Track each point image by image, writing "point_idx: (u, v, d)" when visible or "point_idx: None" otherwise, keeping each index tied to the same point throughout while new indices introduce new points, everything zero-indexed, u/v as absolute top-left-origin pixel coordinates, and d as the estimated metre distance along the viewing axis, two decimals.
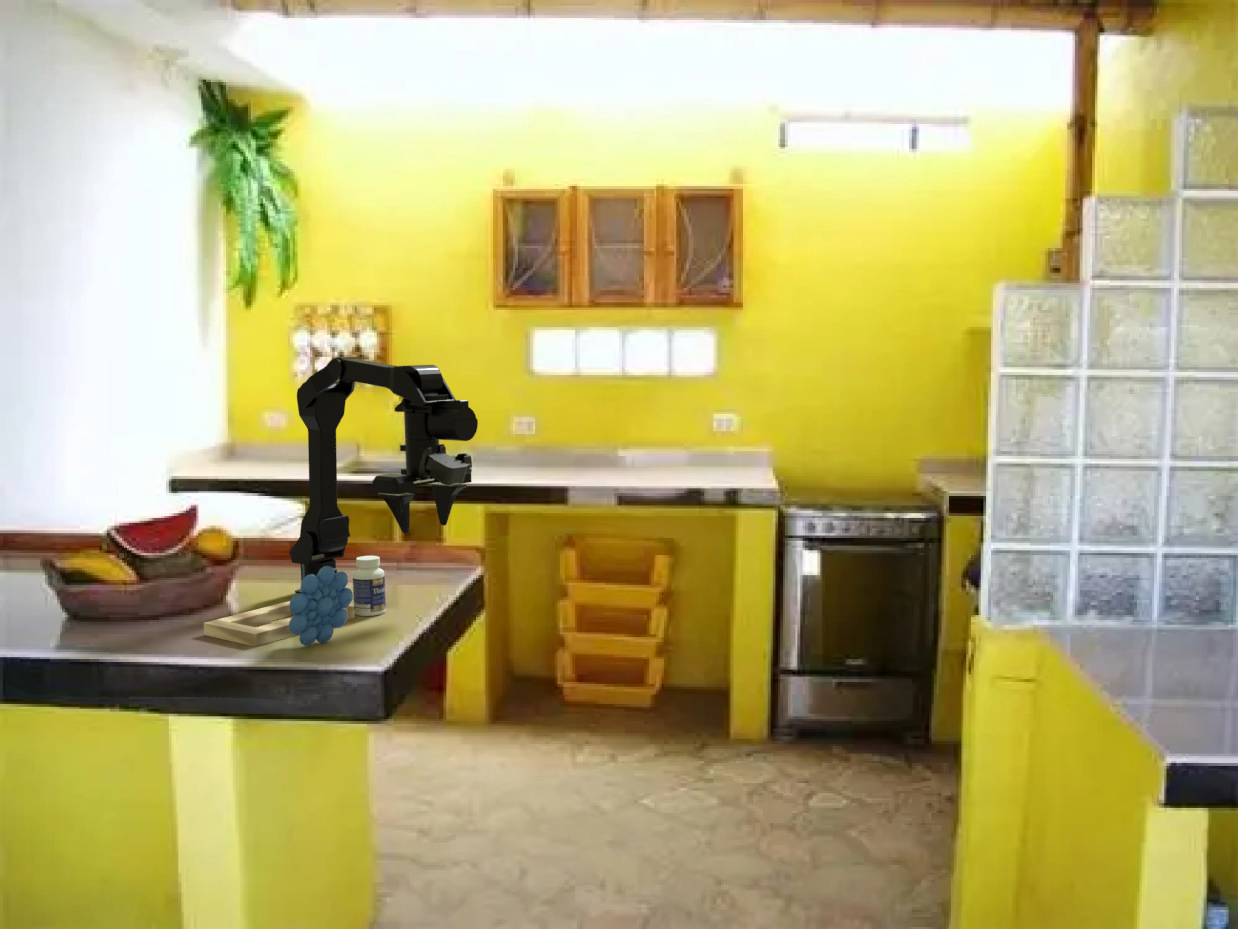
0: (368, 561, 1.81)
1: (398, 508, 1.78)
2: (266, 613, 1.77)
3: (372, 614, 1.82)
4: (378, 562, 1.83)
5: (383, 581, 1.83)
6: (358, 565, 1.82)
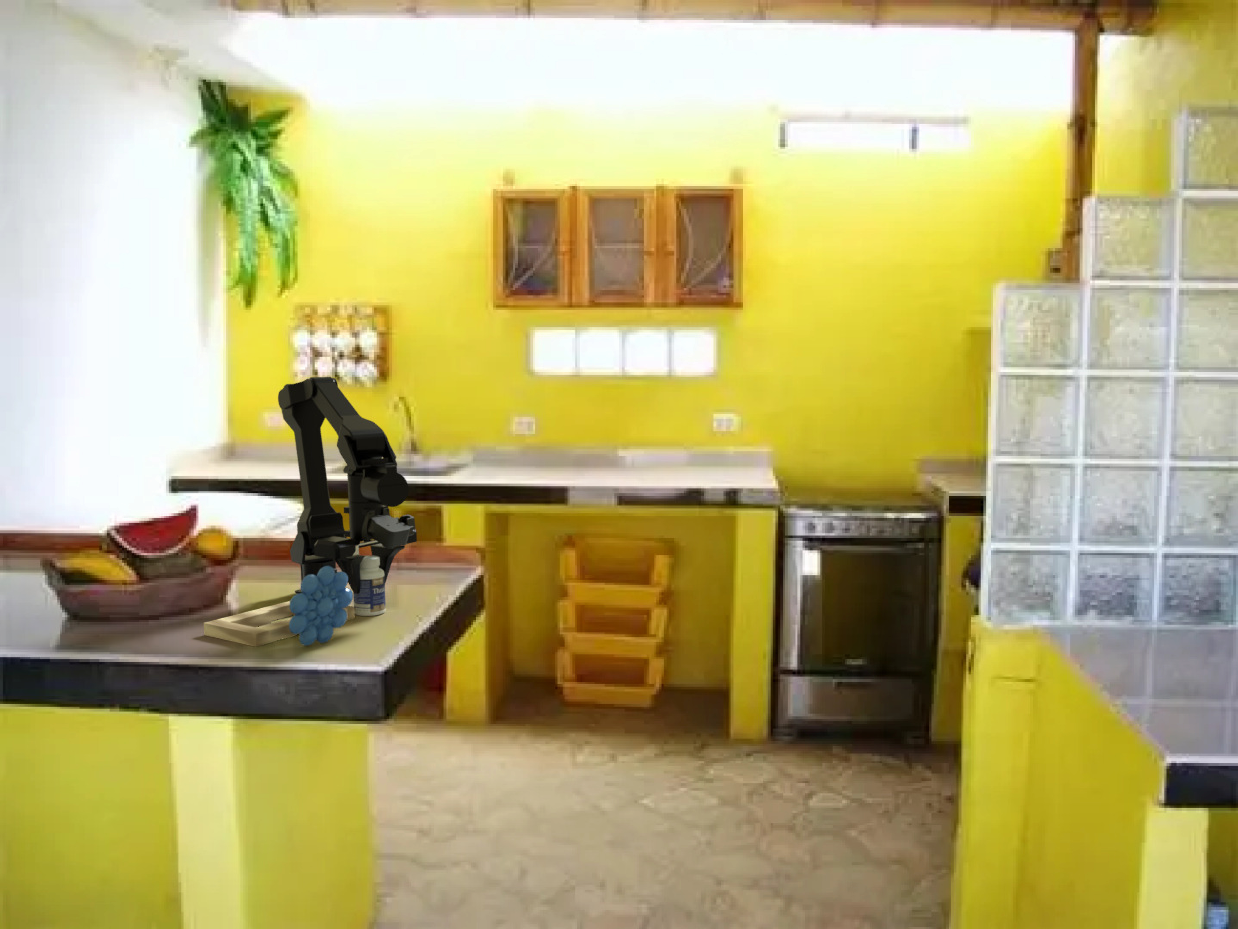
0: (368, 561, 1.81)
1: (349, 569, 1.80)
2: (266, 613, 1.77)
3: (372, 614, 1.82)
4: (378, 562, 1.83)
5: (383, 581, 1.83)
6: None
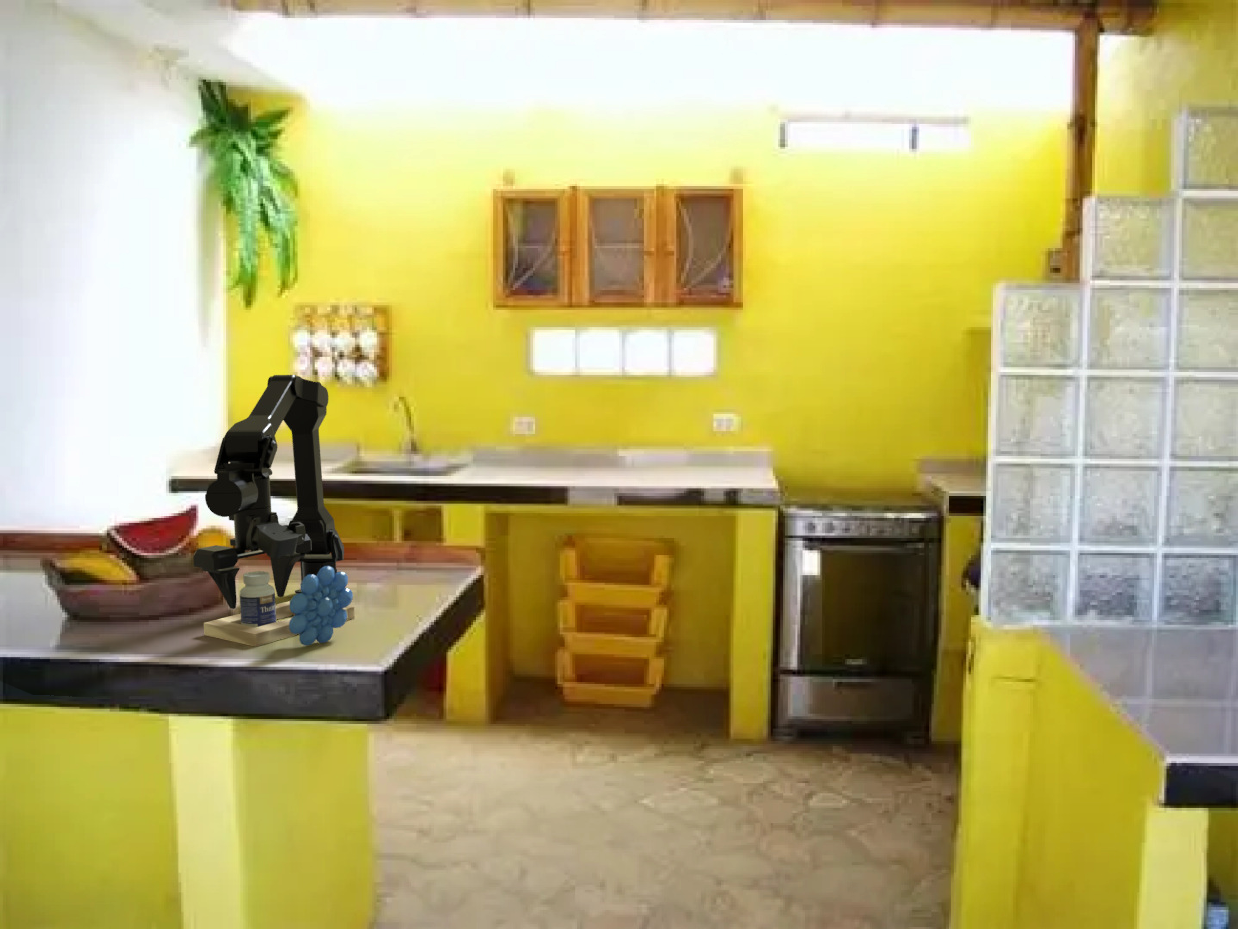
0: (255, 578, 1.69)
1: (223, 582, 1.66)
2: None
3: None
4: (267, 578, 1.71)
5: (272, 599, 1.71)
6: (245, 582, 1.70)
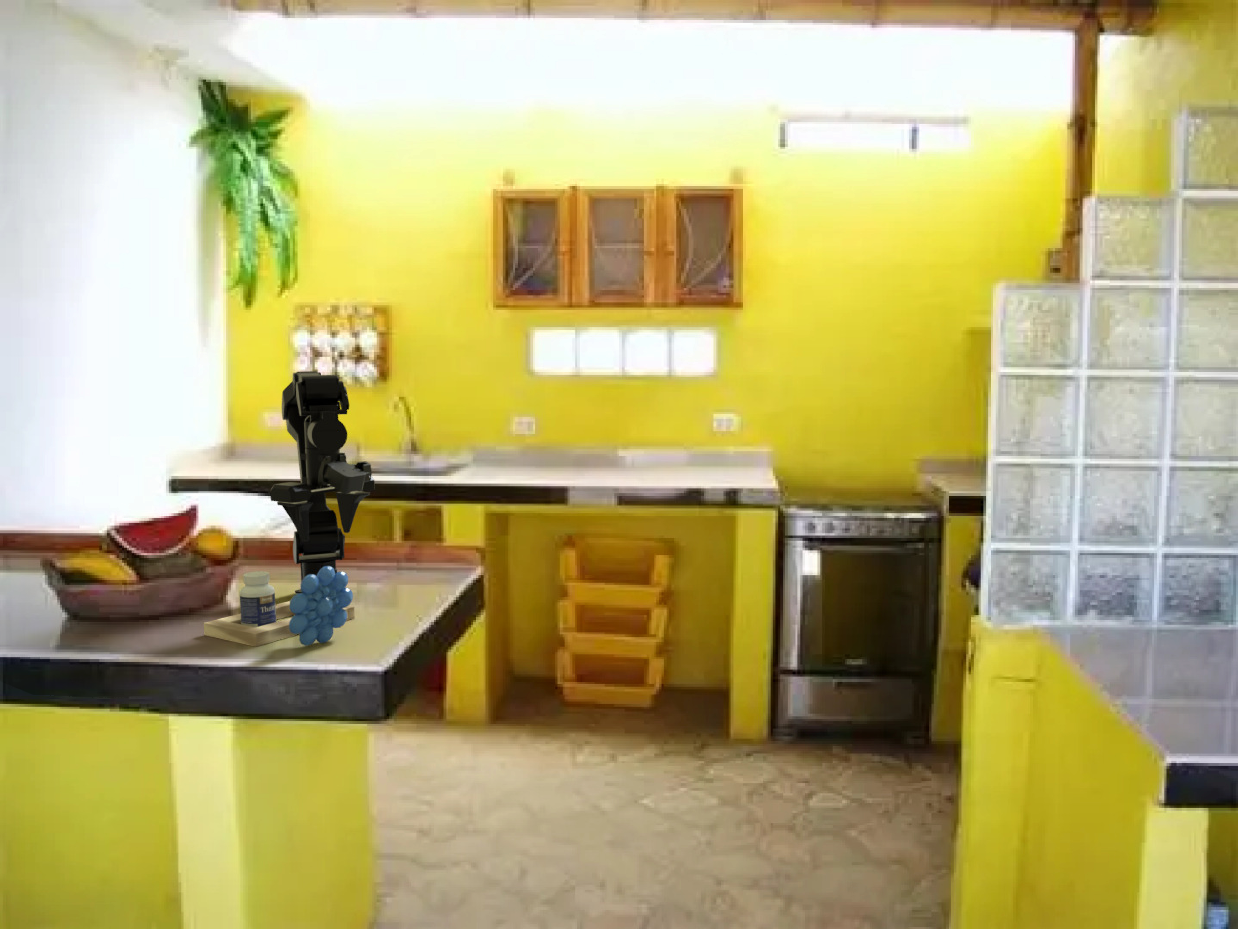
0: (255, 578, 1.69)
1: (297, 516, 1.80)
2: None
3: None
4: (267, 578, 1.71)
5: (272, 599, 1.71)
6: (245, 582, 1.70)
